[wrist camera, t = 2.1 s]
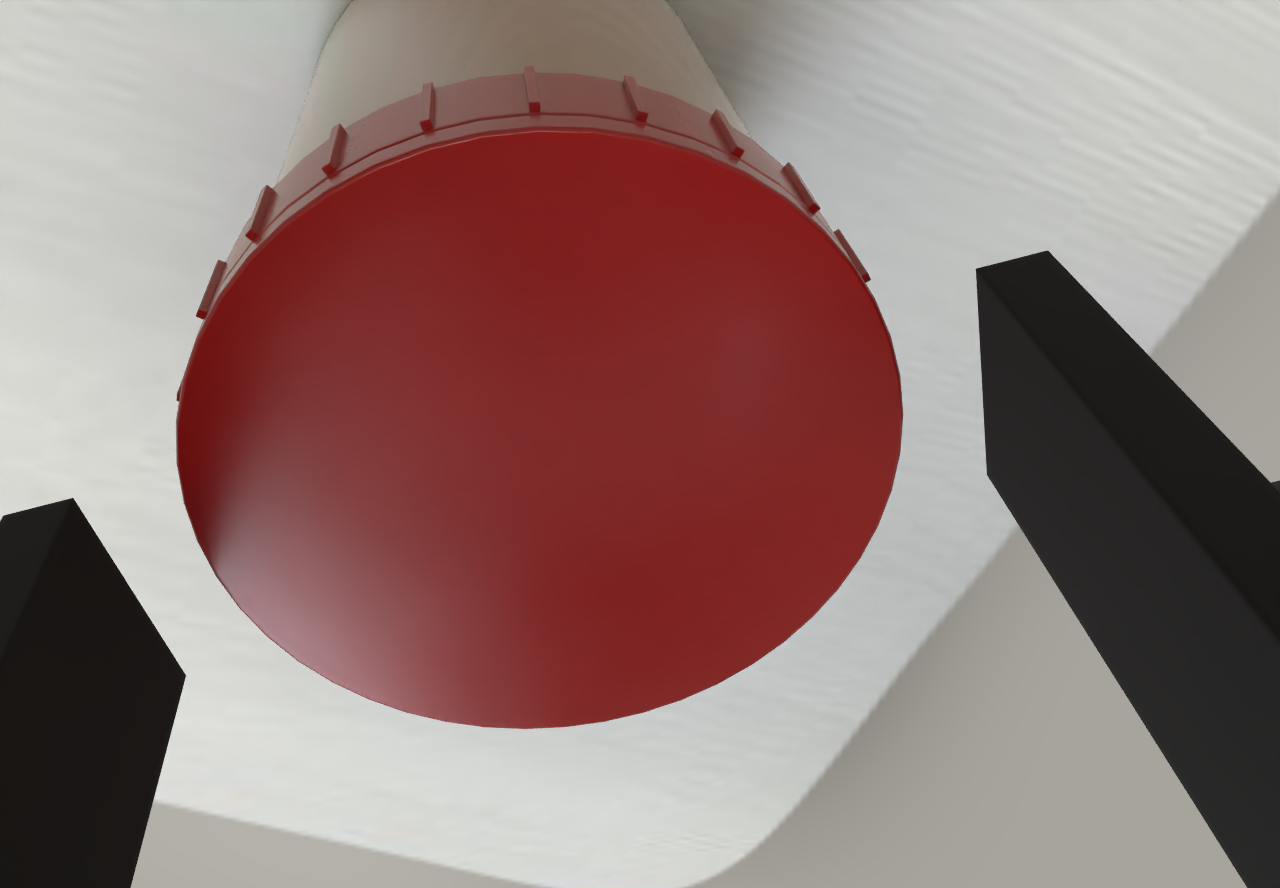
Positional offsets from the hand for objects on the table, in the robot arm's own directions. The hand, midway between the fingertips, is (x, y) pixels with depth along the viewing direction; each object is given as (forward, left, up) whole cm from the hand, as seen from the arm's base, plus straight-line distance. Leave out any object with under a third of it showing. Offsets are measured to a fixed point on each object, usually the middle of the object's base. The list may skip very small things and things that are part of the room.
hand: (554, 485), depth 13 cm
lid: (0, 0, -1) cm, 1 cm away
